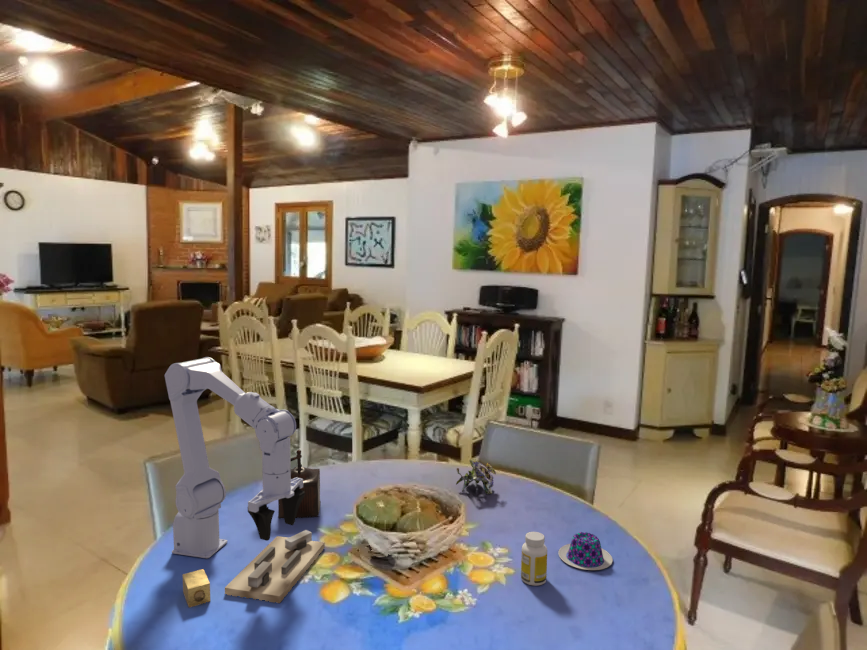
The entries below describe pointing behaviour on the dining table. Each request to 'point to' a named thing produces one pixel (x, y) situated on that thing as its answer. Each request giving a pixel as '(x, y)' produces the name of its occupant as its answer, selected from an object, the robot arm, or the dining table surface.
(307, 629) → the dining table surface
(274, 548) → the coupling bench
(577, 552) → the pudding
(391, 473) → the dining table surface
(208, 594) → the block
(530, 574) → the supplement bottle
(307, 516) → the brown manual coffee grinder
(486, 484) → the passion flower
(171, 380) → the robot arm
